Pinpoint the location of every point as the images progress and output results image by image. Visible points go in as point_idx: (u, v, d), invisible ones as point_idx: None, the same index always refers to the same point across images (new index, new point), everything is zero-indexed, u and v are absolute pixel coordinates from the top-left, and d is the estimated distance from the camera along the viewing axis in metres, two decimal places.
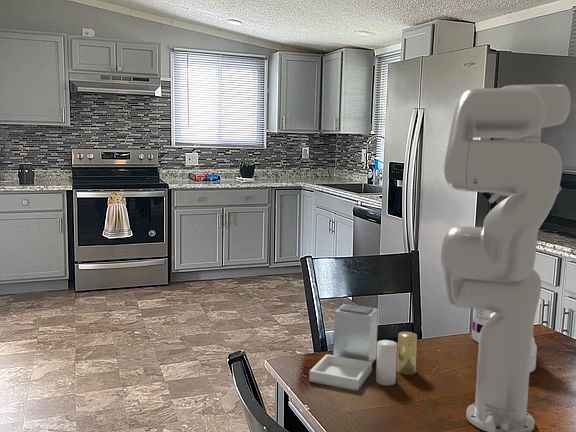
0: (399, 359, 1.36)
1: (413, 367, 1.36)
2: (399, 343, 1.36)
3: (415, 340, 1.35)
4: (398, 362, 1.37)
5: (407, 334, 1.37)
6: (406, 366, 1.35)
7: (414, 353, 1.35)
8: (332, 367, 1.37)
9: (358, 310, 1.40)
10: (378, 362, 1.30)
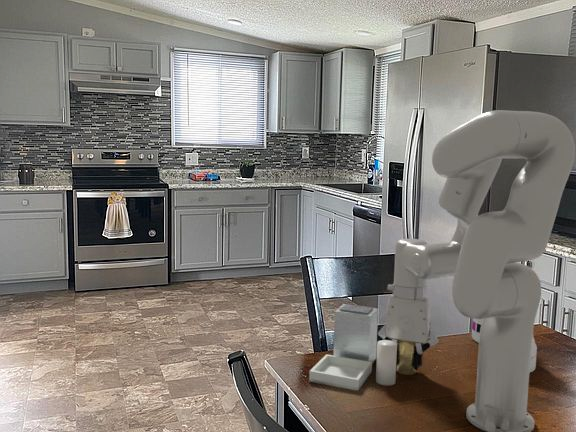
0: (399, 359, 1.36)
1: (413, 367, 1.36)
2: (399, 343, 1.36)
3: None
4: (398, 362, 1.37)
5: None
6: (406, 366, 1.35)
7: (414, 353, 1.35)
8: (332, 367, 1.37)
9: (358, 310, 1.40)
10: (378, 362, 1.30)
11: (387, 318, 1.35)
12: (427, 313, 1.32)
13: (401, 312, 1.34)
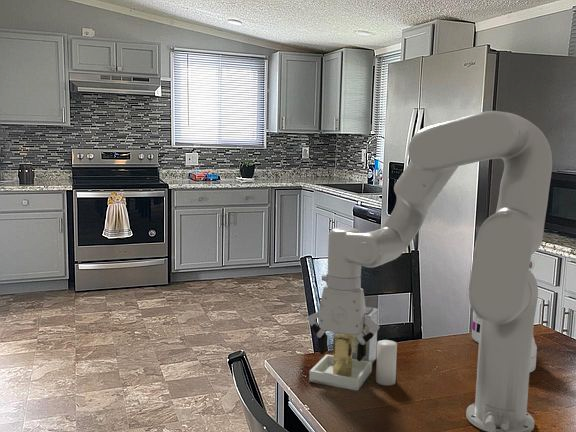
0: (334, 362, 1.32)
1: (348, 370, 1.32)
2: (334, 346, 1.32)
3: (350, 342, 1.31)
4: (333, 365, 1.32)
5: (343, 336, 1.33)
6: (341, 370, 1.31)
7: (349, 356, 1.31)
8: (332, 367, 1.37)
9: None
10: (378, 362, 1.30)
11: (321, 310, 1.31)
12: (360, 304, 1.28)
13: (334, 303, 1.29)
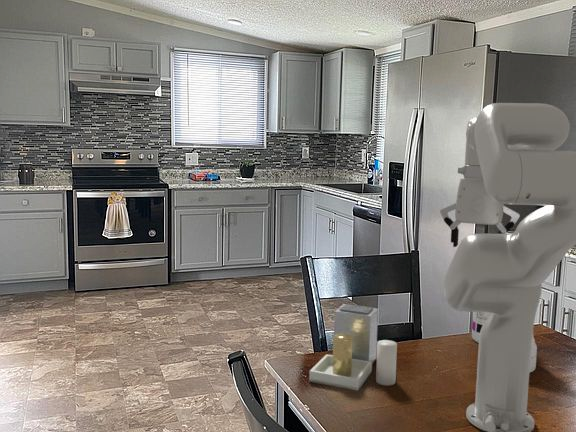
0: (334, 362, 1.32)
1: (348, 370, 1.32)
2: (334, 345, 1.32)
3: (350, 342, 1.31)
4: (333, 365, 1.33)
5: (342, 335, 1.33)
6: (341, 369, 1.31)
7: (349, 355, 1.31)
8: (332, 367, 1.37)
9: (358, 310, 1.40)
10: (378, 362, 1.30)
11: (458, 201, 1.31)
12: None
13: (473, 193, 1.29)
